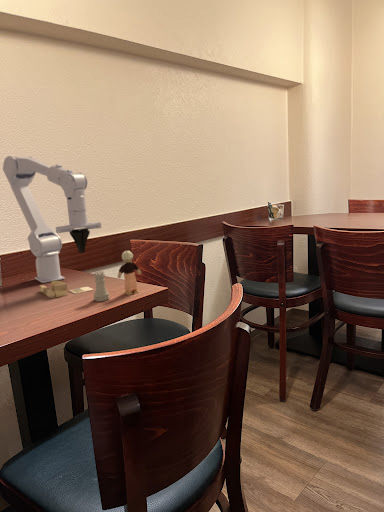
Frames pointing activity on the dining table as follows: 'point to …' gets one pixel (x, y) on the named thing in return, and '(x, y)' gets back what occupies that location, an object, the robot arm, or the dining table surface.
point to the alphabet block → (55, 282)
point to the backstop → (47, 291)
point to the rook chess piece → (100, 288)
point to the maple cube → (59, 289)
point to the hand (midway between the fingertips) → (81, 252)
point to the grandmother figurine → (129, 273)
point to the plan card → (81, 290)
